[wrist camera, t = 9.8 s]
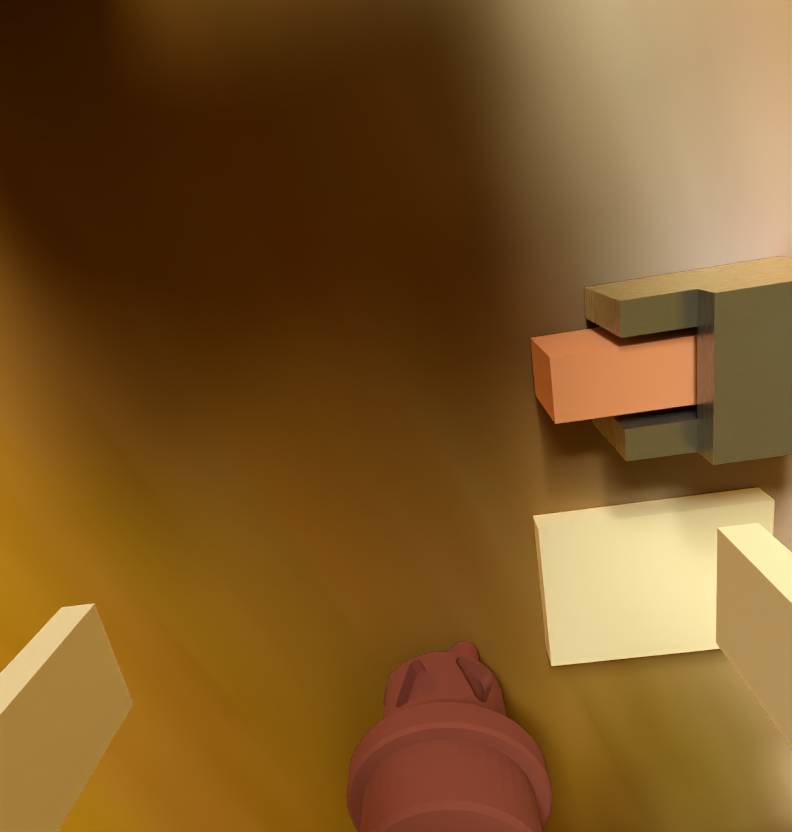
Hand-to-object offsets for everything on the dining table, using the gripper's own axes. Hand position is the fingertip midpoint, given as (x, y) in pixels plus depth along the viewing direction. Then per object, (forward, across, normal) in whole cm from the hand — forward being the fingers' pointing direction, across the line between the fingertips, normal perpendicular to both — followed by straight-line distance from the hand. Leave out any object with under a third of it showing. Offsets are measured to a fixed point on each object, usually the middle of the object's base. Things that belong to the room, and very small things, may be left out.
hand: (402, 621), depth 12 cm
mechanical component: (+19, -1, -19) cm, 27 cm away
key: (+18, +10, 0) cm, 21 cm away
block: (+19, +12, -13) cm, 25 cm away
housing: (+19, +13, 0) cm, 23 cm away
